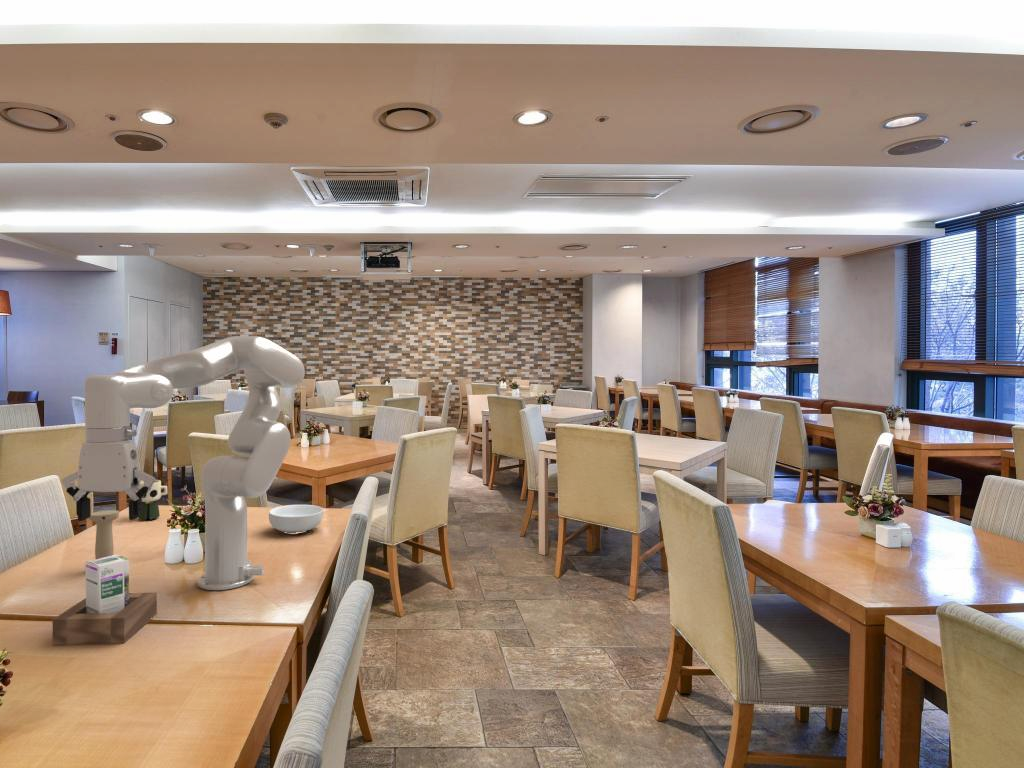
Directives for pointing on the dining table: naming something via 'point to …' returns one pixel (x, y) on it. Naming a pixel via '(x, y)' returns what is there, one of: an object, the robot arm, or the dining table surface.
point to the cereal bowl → (295, 517)
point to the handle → (104, 532)
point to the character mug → (151, 500)
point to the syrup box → (107, 584)
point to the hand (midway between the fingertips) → (109, 518)
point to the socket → (104, 622)
